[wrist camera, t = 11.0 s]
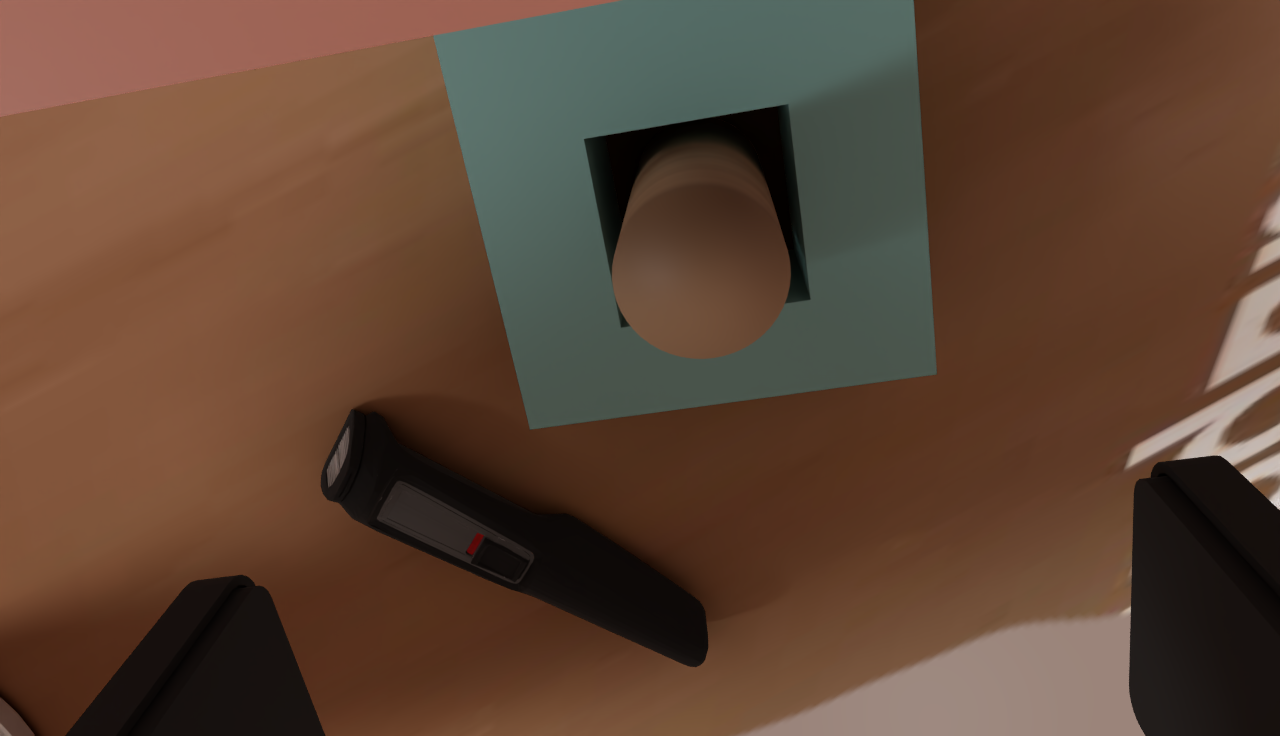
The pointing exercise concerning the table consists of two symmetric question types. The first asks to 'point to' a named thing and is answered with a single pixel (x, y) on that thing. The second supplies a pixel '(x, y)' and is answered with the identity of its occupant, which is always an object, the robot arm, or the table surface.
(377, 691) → the table surface
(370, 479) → the electric trimmer
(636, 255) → the walnut peg
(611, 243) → the socket stand
